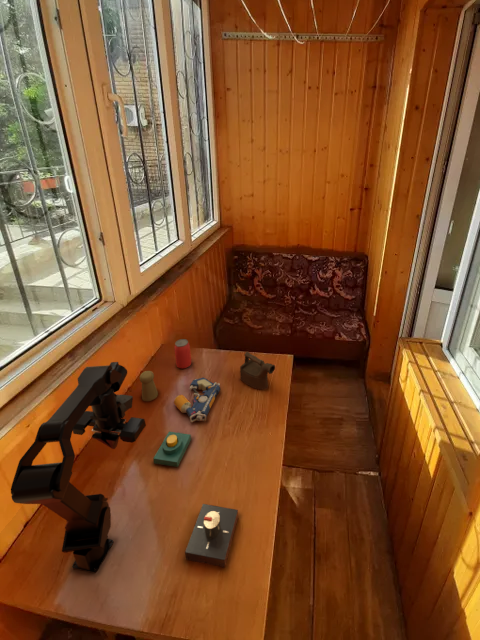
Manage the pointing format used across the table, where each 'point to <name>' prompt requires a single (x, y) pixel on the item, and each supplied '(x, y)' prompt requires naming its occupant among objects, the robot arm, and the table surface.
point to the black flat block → (217, 547)
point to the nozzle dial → (212, 524)
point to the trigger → (171, 440)
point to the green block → (172, 450)
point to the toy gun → (198, 399)
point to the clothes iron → (255, 371)
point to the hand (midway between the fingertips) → (114, 447)
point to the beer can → (182, 353)
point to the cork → (148, 386)
